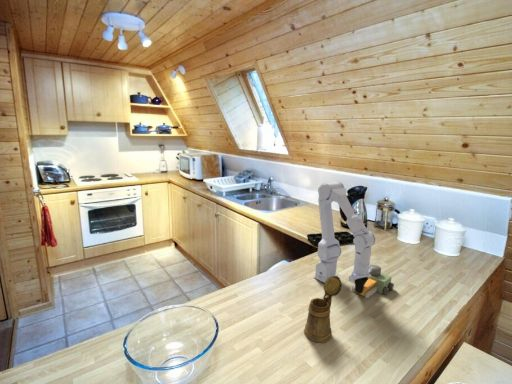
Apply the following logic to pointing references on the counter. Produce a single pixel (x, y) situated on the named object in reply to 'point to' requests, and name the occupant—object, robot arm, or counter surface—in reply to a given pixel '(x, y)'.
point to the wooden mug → (322, 312)
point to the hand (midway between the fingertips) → (358, 292)
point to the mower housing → (378, 282)
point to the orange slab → (368, 286)
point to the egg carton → (343, 239)
